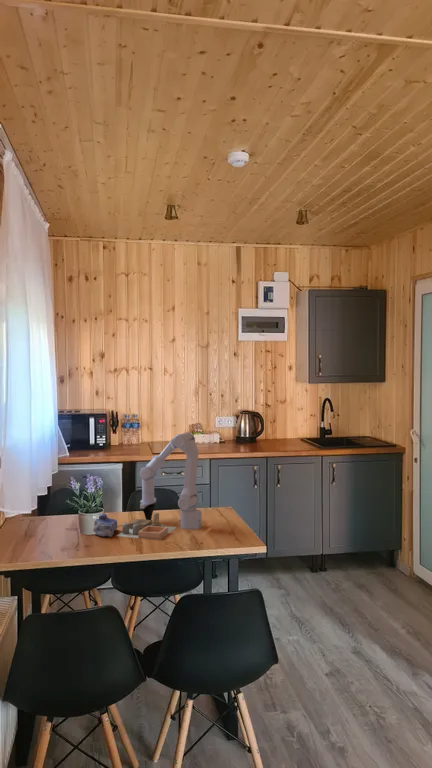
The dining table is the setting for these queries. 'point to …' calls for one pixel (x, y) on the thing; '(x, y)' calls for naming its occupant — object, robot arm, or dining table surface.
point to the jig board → (136, 529)
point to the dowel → (155, 519)
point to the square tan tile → (140, 523)
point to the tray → (153, 532)
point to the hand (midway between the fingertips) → (148, 520)
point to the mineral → (105, 526)
